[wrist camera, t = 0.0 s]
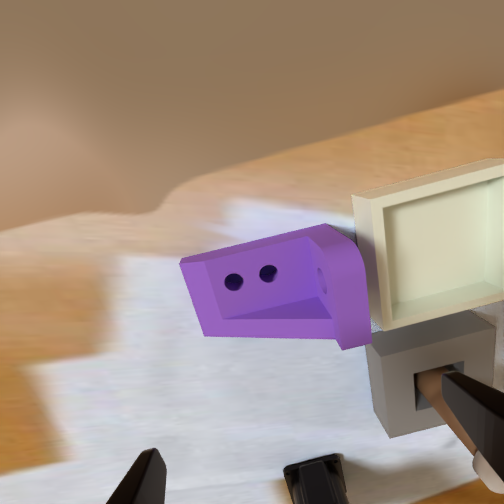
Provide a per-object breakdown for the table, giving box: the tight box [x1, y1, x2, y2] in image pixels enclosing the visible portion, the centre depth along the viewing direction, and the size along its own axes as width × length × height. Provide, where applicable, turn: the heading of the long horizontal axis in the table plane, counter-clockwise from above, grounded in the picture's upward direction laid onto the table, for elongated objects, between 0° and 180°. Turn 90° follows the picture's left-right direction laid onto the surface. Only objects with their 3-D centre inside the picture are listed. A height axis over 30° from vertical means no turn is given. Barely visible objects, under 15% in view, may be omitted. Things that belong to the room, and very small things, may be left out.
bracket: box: [179, 223, 372, 350], centre depth 20 cm, size 12×7×7 cm, turn 103°
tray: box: [351, 158, 504, 331], centre depth 21 cm, size 11×11×3 cm
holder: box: [365, 310, 496, 438], centre depth 25 cm, size 10×10×3 cm
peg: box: [413, 366, 504, 494], centre depth 22 cm, size 4×4×10 cm
